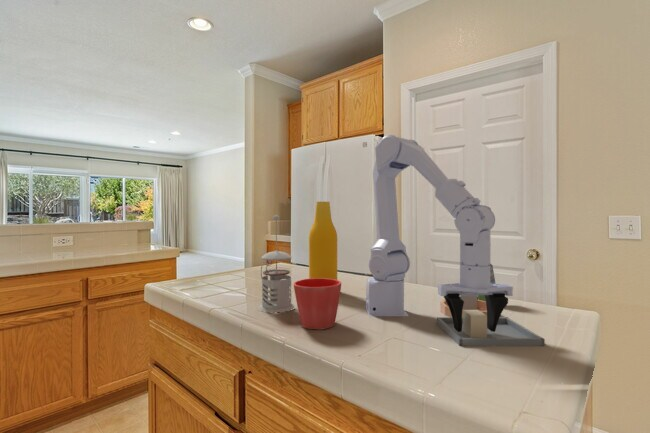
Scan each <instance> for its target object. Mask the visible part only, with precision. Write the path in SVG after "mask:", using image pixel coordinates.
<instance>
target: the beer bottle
mask: <svg viewBox="0 0 650 433" xmlns="http://www.w3.org/2000/svg"><path fill="white" fill-rule="evenodd" d="M330 205H331V203H330V201H316V204H315V212H314V220H313V223H312V226H311V228H310V231H309V233H308V234H309V235H308V279H312V278H326V279H334V280H338V233H337V230H336V227H335V225H334V223H333V220H332V214H331V213H332V212H331V211H332V210H331V206H330Z"/></svg>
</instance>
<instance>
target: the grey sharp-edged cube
mask: <svg viewBox="0 0 650 433" xmlns="http://www.w3.org/2000/svg"><path fill="white" fill-rule="evenodd" d="M459 297H461V299H462V300H463V301H464V304H463V310H477V295H459Z"/></svg>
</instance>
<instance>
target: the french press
mask: <svg viewBox="0 0 650 433" xmlns="http://www.w3.org/2000/svg"><path fill="white" fill-rule="evenodd" d="M280 217H281V216H279V215H278V214H275V215H272V220H275V250H274V251H269V252H266V253H264V254H263V255H262V256H261V257H260V258H261V259H262V260H263V262H262V264H261V267H260V278H261V283H262V285H261V288H262V290H261V293H262V294H261V298H262V299H261V304H260V305H259V306H258V308H259V309H260V310H261V311H260V310H259V311H260V312H262V311H265V312H273V313H272V314H276V313H275V312H283V313H285V312H284V311H288V312H290V311H289V310H291V309H293V308H294V306H295V305H294V304H293V303H292V276H290V275H289V274H290V273H291V271H290V270H287V269H278V262H279V261H288V260H291V259H292V255H290V254H288V253H287V252H285V251H279V250H278V237H277V236H278V229H277V228H278V226H277V225H278V220H280V219H281V218H280ZM267 261H268V262H267ZM273 261H274V262H275V269H268V267H271V265H272V263H273ZM269 263H270V264H269ZM264 264H265V265H266V267H265V270H264V271H263V266H264ZM262 271H263V272H262ZM263 275H265V276H263ZM269 276H270V278H269ZM269 289H270V290H269ZM294 309H295V308H294ZM294 309H293V310H294ZM291 311H292V310H291ZM265 312H264V313H265Z"/></svg>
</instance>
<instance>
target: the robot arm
mask: <svg viewBox="0 0 650 433" xmlns="http://www.w3.org/2000/svg"><path fill="white" fill-rule="evenodd" d="M374 150H375V153H374V154H375V161H374V166H373V170H372V171H373V172H372V179H373V180H372V181H373V193H374V206H375V207H374V208H375V221H376V237H377V238H376V239H377V241H376V242H375V243H374V245H373V246H372V247H371V248H370V258H369V260H368V268H369V271H370V274H371V275H372V276H373V278H372V277H371V278H367V279H366V288H365V290H366V294H365V295H366V297H365V298H366V301H365V309H366V312H367V313H368V316H369V318H371V317H409V316H410V315H409V314H408V313H407V312H406V311H405V278H406V273H408V271H409V270H410V267H411V260H410V258H409V256H408V253H407V248H406V247H407V246H406V245H405V244H404V243H403V242H402V240H401V239H400V229H399V216H398V202H397V200H398V199H397V188H396V178H397V177H398V176H399V174H400V173H402V172H403V171H404V170H405V169H407V168H408V167H410V166H412V167H413V168H415V169H416V171H417V172H418V173H419V174H421V176H422V177H424V179H425V180H427V182H428V183H430V185H431V186H432V187H434V189H435V192H434V196H435V198H436V199H437V201H439V203H440V204H441V205H442V206H443V208H445V209H446V210H447V212H448V213H449V214H450V215H451V216H452V217H453V220H454V225H455V228H456V229H457V231H458V232H459V282H457V283H446V284H438V285H437V294H438V295H440V296H441V297H443V299H445V300H446V302H447V304H448V307H449V309H450V312H451V315H452V318H453V323H454V329H456V330H457V331H458V332H462V310H463V304H464V301H463V300H462V299H461V297H459V295H485V299H486V306H487V328H488V329H489V330H490V331H492V332H495V330H496V327H497V323H498V320H499V317H501V315H502V313H503V311H504V310H505V308H506V306H508V304H509V298H508V297H513V294H514V293H513V291H514V290H513V288H514V286H512V285H510V284H504V283H502V284H501V283H500V284H499V283H496V284H490V263H491V230H492V229H493V228H494V226H495V223H496V215H495V214H494V212H493V210H492V208H491V207H490V206H487V205H485V204H480V203H481V200H480V199H479V198H478V197H474V196H473V195H472V194H471V192H469V191H468V189H467V188H466V186H467V185H466V183H465V182H464V181H463V180H458V179H457V178H448V177H447V176H446V174H445V173H444V172H443V171H442V170H441V169H440V167H439V166H438V165H437V164H436V163H435V162H434V160H433V159H432V158H431V157H430V156H429V154H428V153H427V152H426V151H425V148H424V147H423V146H422V145H419V143H418V142H417V141H416V140H414V139H409V138H408V139H407V138H404V137H399V136H396V135H394V134H386V135H384V136H383V137H381V139H380V141H378V143H377V145H376V146H375V147H374ZM507 296H508V297H507Z"/></svg>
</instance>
